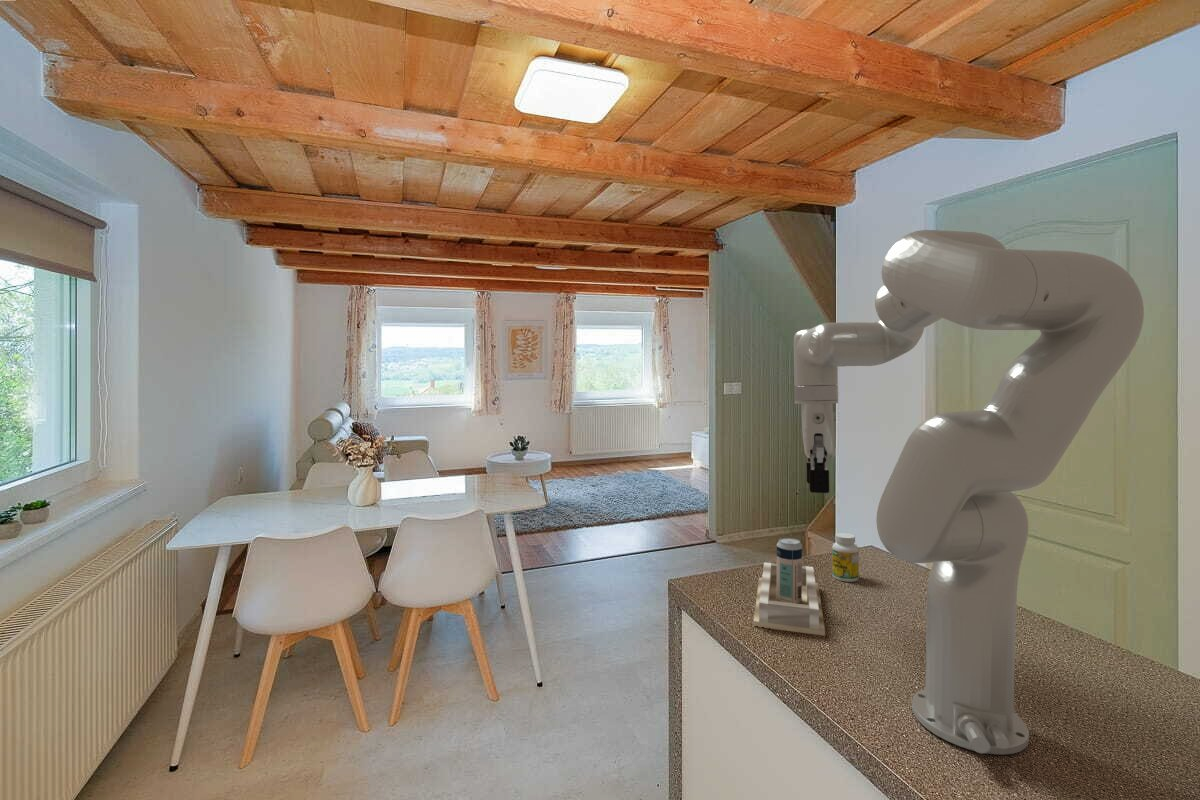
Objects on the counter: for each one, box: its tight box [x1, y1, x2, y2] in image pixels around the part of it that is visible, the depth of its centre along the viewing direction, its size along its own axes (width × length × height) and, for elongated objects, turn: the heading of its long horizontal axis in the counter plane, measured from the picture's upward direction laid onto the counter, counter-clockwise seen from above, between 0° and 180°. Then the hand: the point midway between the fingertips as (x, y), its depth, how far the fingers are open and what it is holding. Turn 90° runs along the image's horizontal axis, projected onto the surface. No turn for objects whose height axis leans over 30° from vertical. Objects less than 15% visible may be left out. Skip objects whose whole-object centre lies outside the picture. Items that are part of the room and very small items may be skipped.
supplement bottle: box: [831, 532, 860, 583], centre depth 122 cm, size 5×5×10 cm
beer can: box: [776, 537, 803, 604], centre depth 107 cm, size 5×5×12 cm
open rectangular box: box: [752, 562, 826, 637], centre depth 108 cm, size 22×12×4 cm, turn 161°
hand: (817, 487), depth 102 cm, fingers open, 9 cm apart
